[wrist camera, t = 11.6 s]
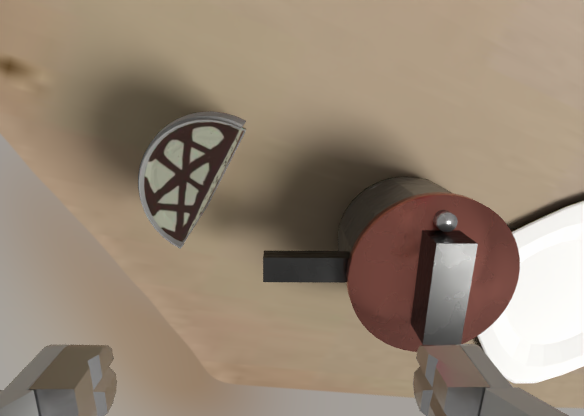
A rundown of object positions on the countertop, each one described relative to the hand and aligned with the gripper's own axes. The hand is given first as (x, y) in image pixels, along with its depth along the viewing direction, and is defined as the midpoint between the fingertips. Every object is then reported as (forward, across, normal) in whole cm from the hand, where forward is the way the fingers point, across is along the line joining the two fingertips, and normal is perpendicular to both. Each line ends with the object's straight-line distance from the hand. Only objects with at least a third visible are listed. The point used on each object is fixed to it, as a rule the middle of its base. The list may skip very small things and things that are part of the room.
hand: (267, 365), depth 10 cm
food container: (+31, +8, -1) cm, 32 cm away
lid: (+22, -14, +8) cm, 27 cm away
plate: (+32, -34, +15) cm, 49 cm away
